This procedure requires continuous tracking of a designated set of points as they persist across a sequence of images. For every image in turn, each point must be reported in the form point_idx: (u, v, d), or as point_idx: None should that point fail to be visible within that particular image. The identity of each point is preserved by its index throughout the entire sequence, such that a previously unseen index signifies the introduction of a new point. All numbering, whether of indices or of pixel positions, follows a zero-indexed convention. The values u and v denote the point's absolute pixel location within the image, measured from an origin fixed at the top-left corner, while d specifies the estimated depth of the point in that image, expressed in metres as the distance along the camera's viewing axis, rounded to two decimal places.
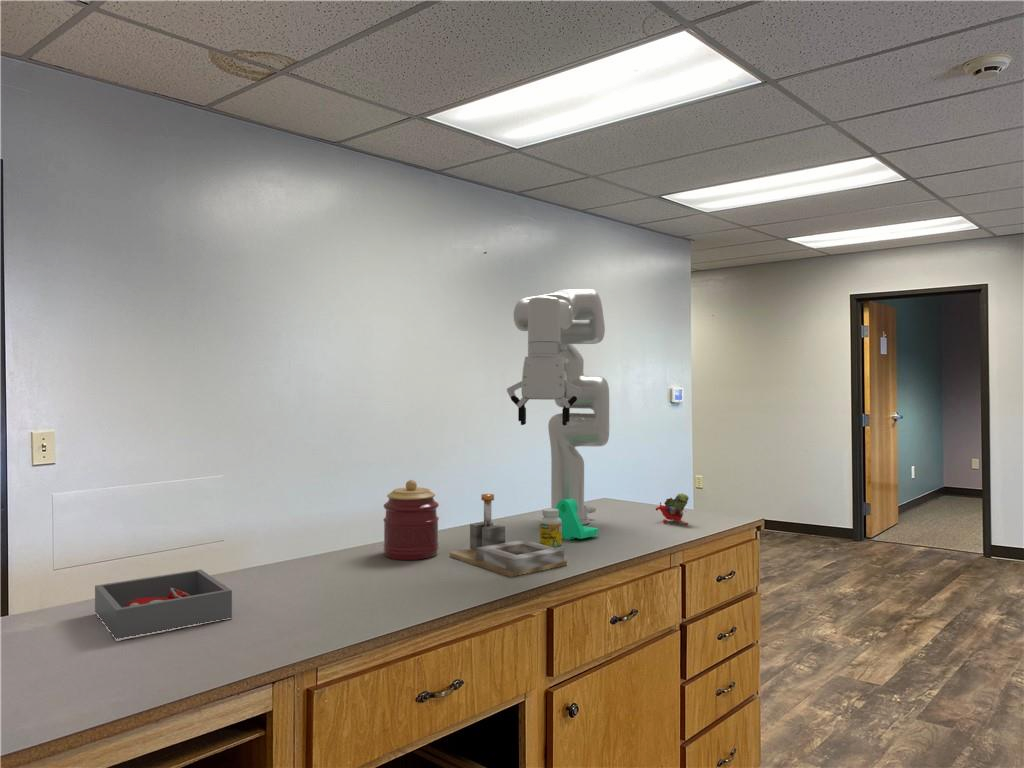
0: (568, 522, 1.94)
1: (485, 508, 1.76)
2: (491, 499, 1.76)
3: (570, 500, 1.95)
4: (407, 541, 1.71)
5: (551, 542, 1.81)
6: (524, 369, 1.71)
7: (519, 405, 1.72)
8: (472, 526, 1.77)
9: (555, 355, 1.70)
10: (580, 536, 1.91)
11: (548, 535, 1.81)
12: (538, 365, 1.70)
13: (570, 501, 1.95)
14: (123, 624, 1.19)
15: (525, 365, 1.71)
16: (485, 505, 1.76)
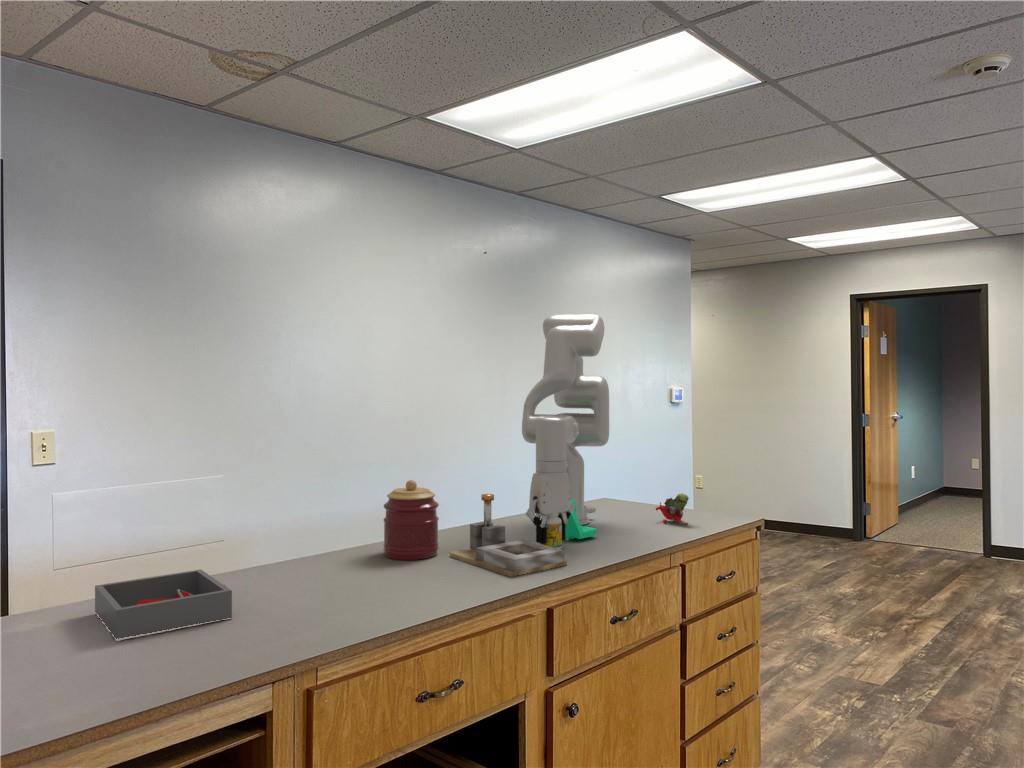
0: None
1: (485, 508, 1.76)
2: (491, 499, 1.76)
3: None
4: (407, 541, 1.71)
5: (551, 542, 1.81)
6: (543, 487, 1.79)
7: (542, 525, 1.80)
8: (472, 526, 1.77)
9: (566, 472, 1.83)
10: (579, 536, 1.90)
11: (548, 535, 1.81)
12: (554, 482, 1.81)
13: None
14: (123, 624, 1.19)
15: (544, 483, 1.79)
16: (485, 505, 1.76)
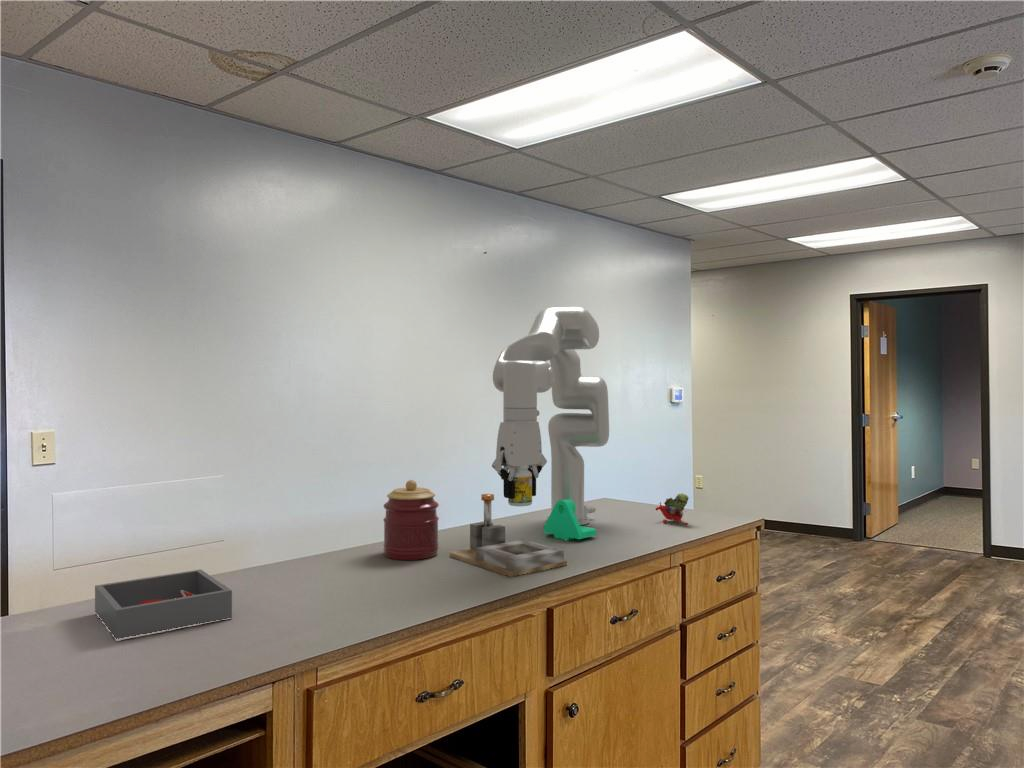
0: (566, 522, 1.93)
1: (485, 508, 1.76)
2: (491, 499, 1.76)
3: (568, 500, 1.95)
4: (407, 541, 1.71)
5: (520, 497, 1.65)
6: (510, 436, 1.63)
7: (510, 478, 1.64)
8: (472, 526, 1.77)
9: (536, 421, 1.67)
10: (578, 537, 1.90)
11: (516, 489, 1.65)
12: (523, 432, 1.65)
13: (568, 501, 1.94)
14: (123, 624, 1.19)
15: (511, 432, 1.63)
16: (485, 505, 1.76)
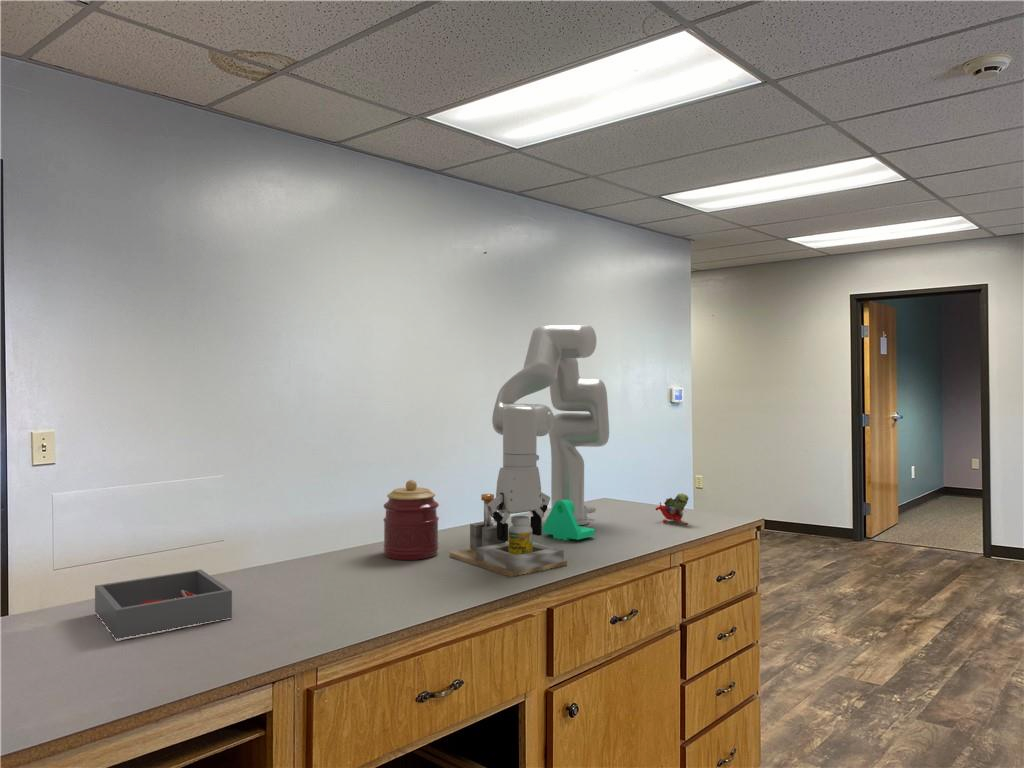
0: (564, 522, 1.93)
1: (485, 508, 1.76)
2: (491, 499, 1.76)
3: (567, 501, 1.94)
4: (407, 541, 1.71)
5: (520, 553, 1.65)
6: (510, 483, 1.63)
7: (503, 521, 1.63)
8: (472, 526, 1.77)
9: (536, 466, 1.67)
10: (577, 537, 1.90)
11: (517, 545, 1.65)
12: (523, 478, 1.65)
13: (567, 502, 1.94)
14: (123, 624, 1.19)
15: (511, 479, 1.63)
16: (485, 505, 1.76)
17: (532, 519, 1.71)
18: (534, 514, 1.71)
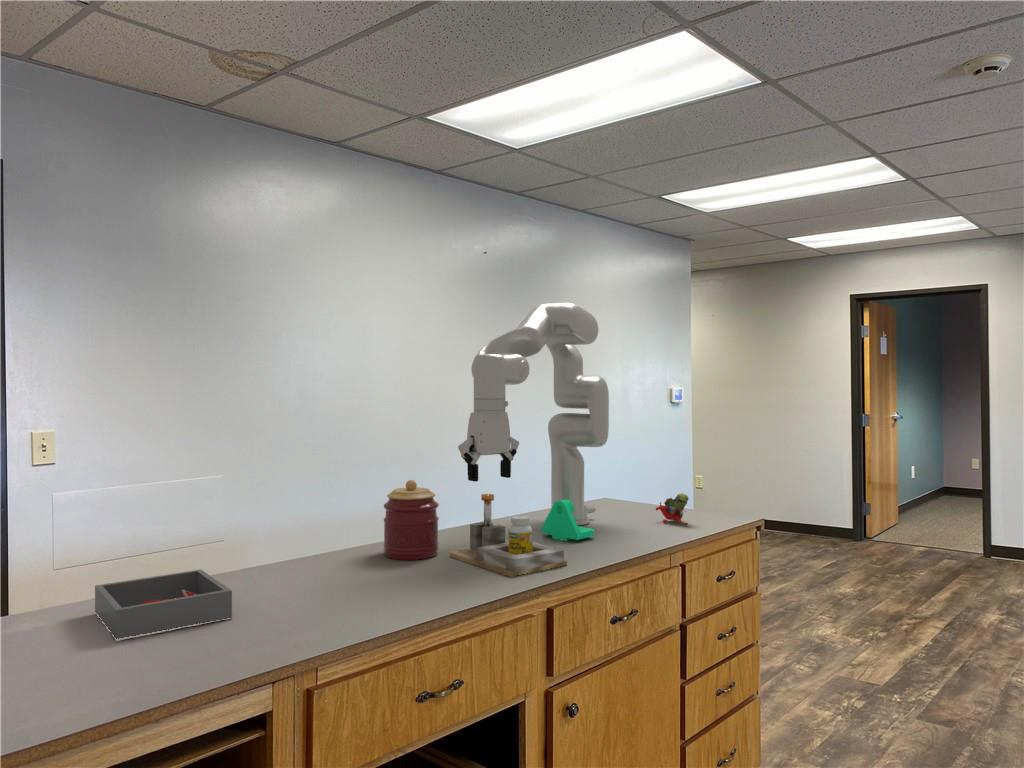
0: (564, 523, 1.92)
1: (485, 508, 1.76)
2: (491, 499, 1.76)
3: (566, 501, 1.94)
4: (407, 541, 1.71)
5: (520, 553, 1.65)
6: (480, 426, 1.72)
7: (473, 462, 1.72)
8: (472, 526, 1.77)
9: None
10: (576, 537, 1.90)
11: (517, 545, 1.65)
12: (492, 421, 1.74)
13: (566, 502, 1.94)
14: (123, 624, 1.19)
15: (481, 422, 1.72)
16: (485, 505, 1.76)
17: (502, 462, 1.80)
18: (504, 457, 1.79)
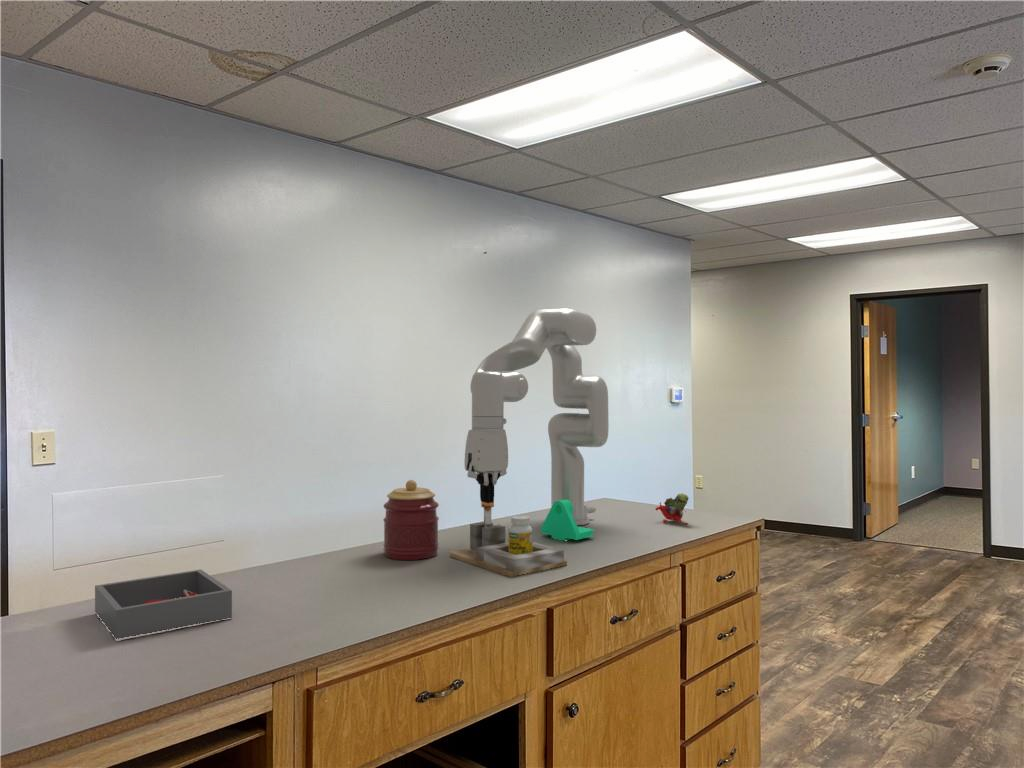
0: (563, 523, 1.92)
1: (485, 515, 1.76)
2: (491, 506, 1.76)
3: (565, 501, 1.94)
4: (407, 541, 1.71)
5: (520, 553, 1.65)
6: (477, 443, 1.72)
7: (486, 483, 1.75)
8: (472, 526, 1.77)
9: (503, 429, 1.77)
10: (575, 537, 1.89)
11: (517, 545, 1.65)
12: (490, 439, 1.74)
13: (565, 502, 1.93)
14: (123, 624, 1.19)
15: (478, 439, 1.72)
16: (485, 512, 1.76)
17: None
18: (488, 479, 1.77)
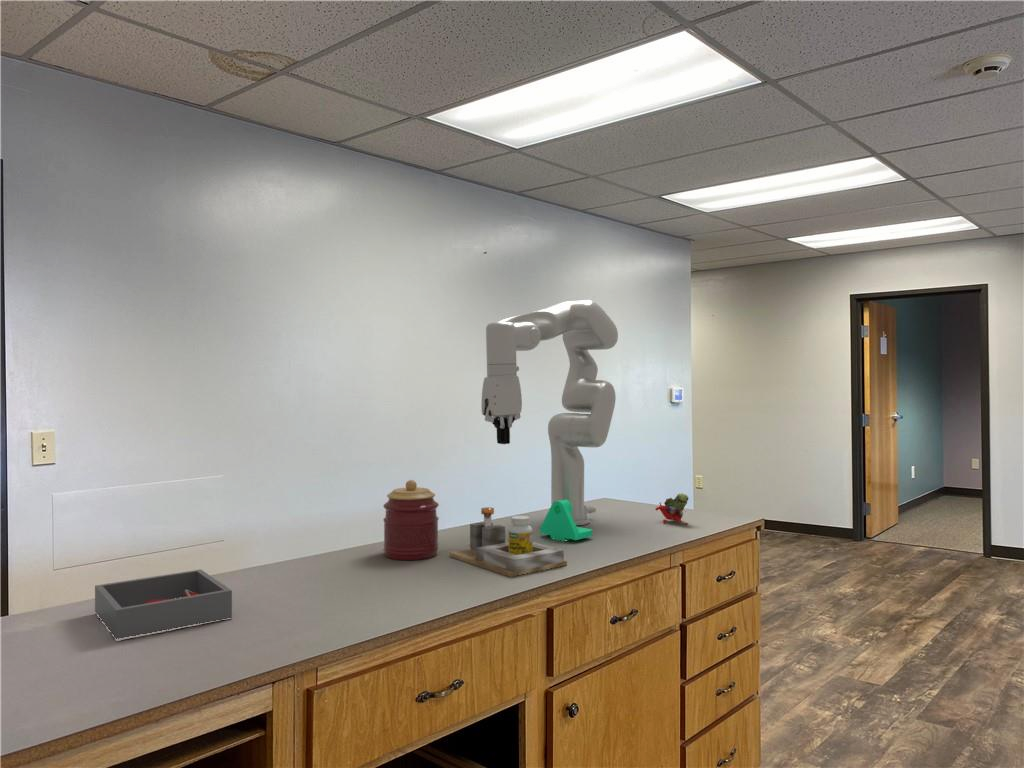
0: (562, 523, 1.92)
1: (485, 522, 1.76)
2: (491, 513, 1.76)
3: (564, 501, 1.94)
4: (407, 541, 1.71)
5: (520, 553, 1.65)
6: (493, 389, 1.85)
7: (502, 426, 1.88)
8: (472, 526, 1.77)
9: (516, 375, 1.89)
10: (574, 537, 1.89)
11: (517, 545, 1.65)
12: (505, 385, 1.86)
13: (564, 502, 1.93)
14: (123, 624, 1.19)
15: (494, 385, 1.85)
16: (485, 519, 1.76)
17: None
18: (504, 422, 1.90)
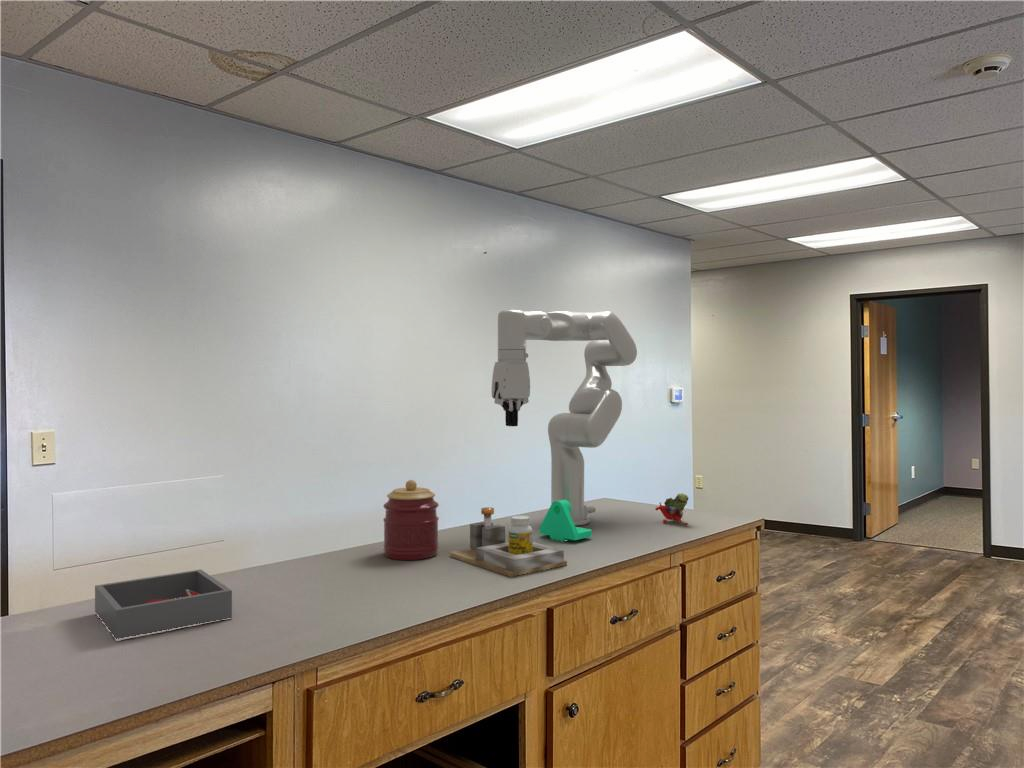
0: (561, 523, 1.92)
1: (485, 522, 1.76)
2: (491, 513, 1.76)
3: (564, 501, 1.93)
4: (407, 541, 1.71)
5: (520, 553, 1.65)
6: (503, 373, 1.94)
7: (511, 409, 1.97)
8: (472, 526, 1.77)
9: (525, 361, 1.98)
10: (574, 538, 1.89)
11: (517, 545, 1.65)
12: (514, 369, 1.96)
13: (564, 502, 1.93)
14: (123, 624, 1.19)
15: (504, 369, 1.94)
16: (485, 519, 1.76)
17: None
18: (512, 406, 1.99)
